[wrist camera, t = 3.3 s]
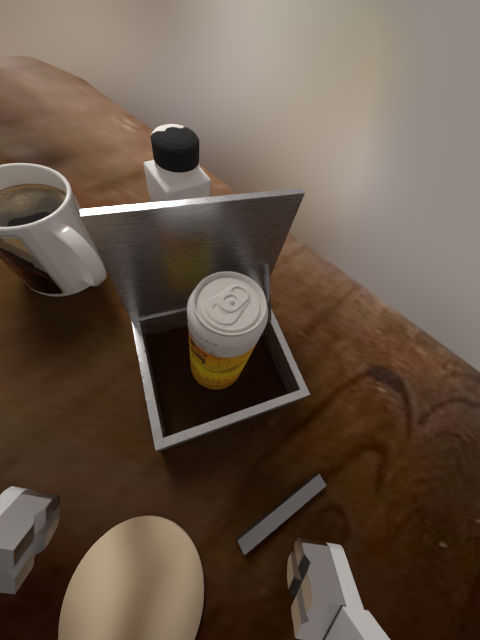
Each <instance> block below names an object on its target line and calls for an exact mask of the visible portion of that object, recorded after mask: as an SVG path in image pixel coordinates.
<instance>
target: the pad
mask: <svg viewBox="0 0 480 640" xmlns="http://www.w3.org/2000/svg"><path fill="white" fill-rule="evenodd" d="M203 602H204V578H203V570H202V565H201V561H200V557H199V554H198V552H197V549H196V547H195V545H194V543H193V542H192V540H191V538H190V537H189V536H188V534H187V533H186V532H185V531H184V530H183V529H182V528H181V527H180V526H179V525H177V524H176V523H174V522H173V521H171V520H169V519H167V518H163V517H160V516H152V515H148V516H139V517H134V518H131V519H129V520H126V521H124V522H122V523H120V524H118V525H116V526H115V527H113V528H112V529H110V530H109V531H108V532H107V533H105V534H104V535H103V536H102V537H101V538H100V539H99V540H98V541H97V542H96V543H95V544H94V545H93V546H92V547H91V548H90V550H89V551H88V552H87V553H86V555H85V556H84V557H83V559H82V561H81V562H80V564H79V565H78V567H77V569H76V571H75V573H74V574H73V576H72V579H71V581H70V583H69V586H68V588H67V591H66V594H65V597H64V600H63V604H62V609H61V613H60V621H59V638H58V640H195V637H196V634H197V631H198V628H199V624H200V620H201V615H202V609H203Z"/></svg>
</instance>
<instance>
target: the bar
mask: <svg viewBox="0 0 480 640" xmlns="http://www.w3.org/2000/svg"><path fill="white" fill-rule="evenodd" d="M325 486H326V484H325V482H324V481H323V479H322V477H321V476H320V474H315V475H314V476H312V477H311V478H310V479H309V480H307V481H306V482H305V483H304V484H302V485H301V486H300V487H299V488H297V489H296V490H295V491H294V492H293V493H291V494H290V495H289V496H288V497H286V498H285V499H284V500H283V501H281V502H280V503H279V504H278V505H277V506H275V507H274V508H273V509H272V510H270V511H269V512H268V513H267V514H265V515H264V516H263V517H262V518H261V519H259V520H258V521H257V522H256V523H254V524H253V525H252V526H251V527H249V528H248V529H247V530H246V531H245V532H243V533H242V534H241V535H240V536H238V537H237V538H236V539H237V541H238V543H239V545H240V547H241V550H242V552H243V554H244V555H245V554H247V553H248V552H249V551H250V550H251V549H252V548H254V547H255V546H256V545H257V544H258V543H260V542H261V541H262V540H263V539H264V538H265V537H267V536H268V535H269V534H270V533H271V532H272V531H274V530H275V529H276V528H277V527H278V526H280V525H281V524H282V523H283V522H284V521H285V520H287V519H288V518H289V517H290V516H291V515H292V514H294V513H295V512H296V511H297V510H298V509H300V508H301V507H302V506H303V505H304V504H305V503H307V502H308V501H309V500H310V499H311V498H312V497H314V496H315V495H316V494H317V493H318V492H320V491H321V490H322V489H323V488H324V487H325Z"/></svg>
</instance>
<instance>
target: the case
mask: <svg viewBox="0 0 480 640" xmlns="http://www.w3.org/2000/svg"><path fill="white" fill-rule="evenodd" d="M304 194H305V193H304V191H303V190H302V188H299V189H287V190H277V191H266V192H256V193H245V194H235V195H225V196H214V197H204V198H193V199H183V200H172V201H162V202H151V203H141V204H131V205H120V206H110V207H99V208H89V209H80V216H81V218H82V220H83V222H84V224H85V226H86V228H87V231H88V233H89V235H90V237H91V239H92V241H93V243H94V245H95V247H96V249H97V251H98V253H99V255H100V257H101V259H102V261H103V263H104V266H105V268H106V270H107V272H108V274H109V276H110V278H111V280H112V282H113V284H114V286H115V288H116V290H117V292H118V294H119V296H120V298H121V301H122V303H123V305H124V307H125V309H126V311H127V313H128V315H129V317H130V319H131V321H132V327H133V332H134V338H135V343H136V348H137V354H138V359H139V364H140V370H141V375H142V381H143V386H144V391H145V397H146V402H147V408H148V413H149V418H150V424H151V429H152V434H153V440H154V445H155V451H163V450H166V449H169V448H171V447H174V446H177V445H180V444H182V443H185V442H188V441H190V440H193V439H196V438H199V437H201V436H204V435H207V434H210V433H212V432H215V431H218V430H221V429H223V428H226V427H229V426H231V425H234V424H237V423H240V422H242V421H245V420H248V419H251V418H253V417H256V416H259V415H262V414H264V413H267V412H270V411H272V410H275V409H278V408H281V407H283V406H286V405H289V404H292V403H294V402H297V401H299V400H301V399H303V398H305V397H306V396H308V395H310V393H309V391H308V389H307V387H306V385H305V382H304V380H303V378H302V376H301V373H300V371H299V369H298V367H297V365H296V362H295V360H294V358H293V356H292V354H291V351H290V349H289V347H288V345H287V342H286V340H285V338H284V336H283V334H282V331H281V329H280V327H279V325H278V322H277V320H276V318H275V316H274V314H273V311H272V309H271V299H270V279H269V278H270V276H271V273H272V271H273V269H274V266H275V264H276V261H277V259H278V257H279V254H280V252H281V249H282V247H283V244H284V242H285V240H286V237H287V235H288V232H289V230H290V228H291V225H292V222H293V220H294V218H295V215H296V213H297V210H298V208H299V206H300V203H301V201H302V198H303V196H304ZM226 271H227V272H236V273H240V274H243V275H245V276H247V277H249V278H251V279H252V280H253V281H255V282H256V283H257V284H258V285H259V287H260V288H261V289H262V291H263V293H264V295H265V298H266V303H267V307H268V321H267V324H266V327H265V329H264V331H263V333H262V334H263V337H264V339H265V342H266V344H267V347H268V349H269V351H270V354H271V356H272V359H273V361H274V363H275V366H276V368H277V371H278V373H279V375H280V378H281V380H282V383H283V385H284V388H285V390H286V392H287V395H284V396H281V397H278V398H275V399H272V400H269V401H267V402H264V403H261V404H258V405H255V406H252V407H250V408H247V409H244V410H241V411H238V412H235V413H233V414H230V415H227V416H224V417H221V418H218V419H216V420H213V421H210V422H207V423H204V424H201V425H199V426H196V427H193V428H190V429H187V430H184V431H181V432H179V433H176V434H173V435H170V436H167V437H166V432H165V427H164V422H163V417H162V412H161V408H160V403H159V398H158V393H157V388H156V383H155V378H154V374H153V369H152V364H151V359H150V354H149V349H148V345H147V340H146V335H151V334H155V333H159V332H163V331H167V330H172V329H176V328H180V327H184V326H188V319H187V304H188V300H189V297H190V295H191V293H192V292H193V291H194V289H195V288H196V287H197V285H198V284H199V283H200V282H201V281H202V280H203V279H204V278H206V277H207V276H209V275H211V274H214V273H218V272H226Z"/></svg>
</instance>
